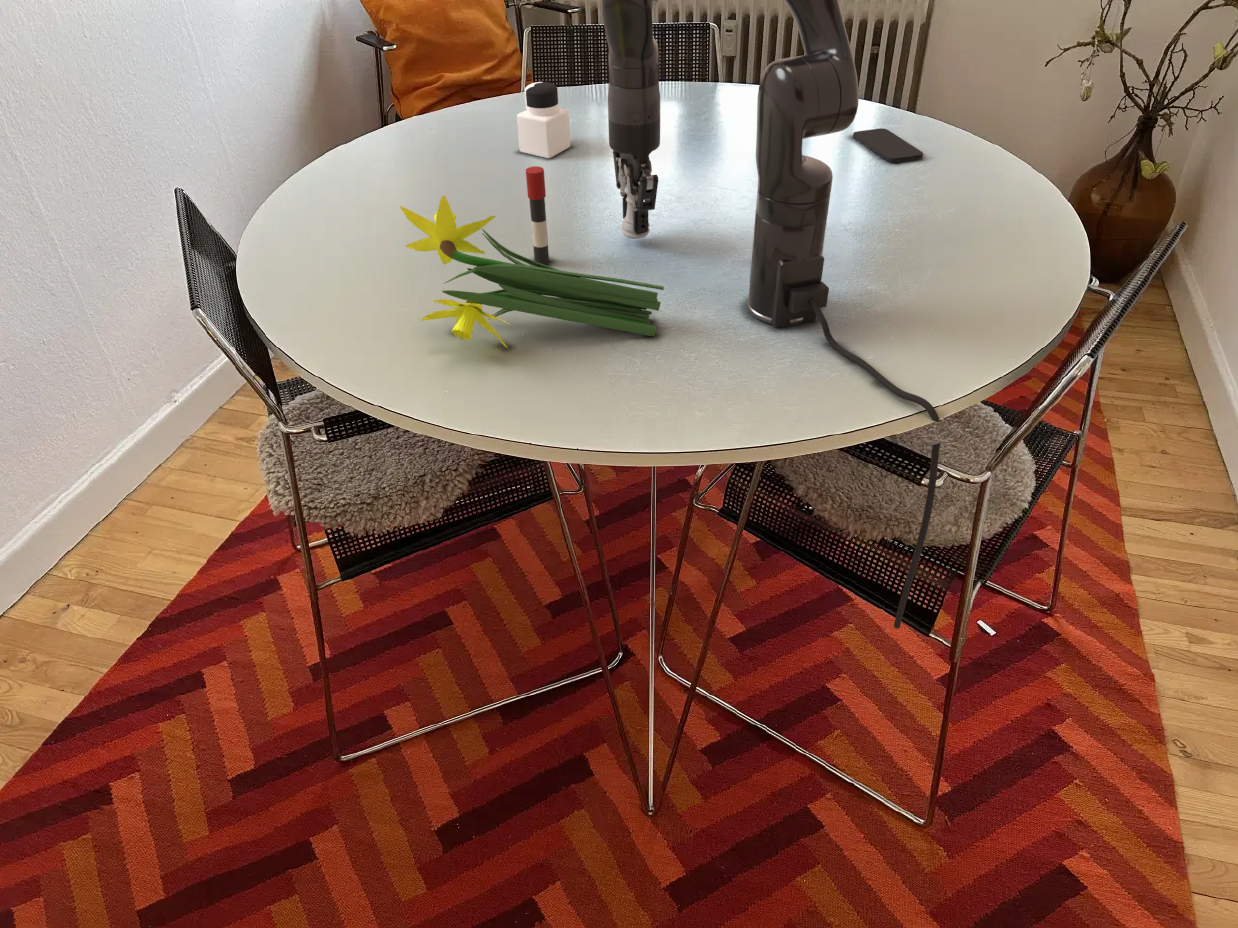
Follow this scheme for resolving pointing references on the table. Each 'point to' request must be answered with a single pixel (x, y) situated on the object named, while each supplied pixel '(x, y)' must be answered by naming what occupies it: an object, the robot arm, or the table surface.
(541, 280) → the daffodil flowers
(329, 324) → the table surface
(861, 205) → the table surface
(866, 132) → the phone
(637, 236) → the rook chess piece
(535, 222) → the marker
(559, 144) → the medicine bottle
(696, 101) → the table surface
